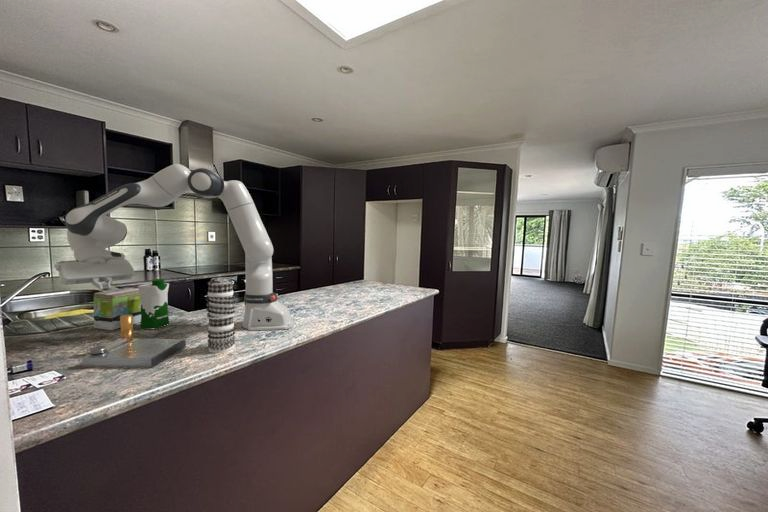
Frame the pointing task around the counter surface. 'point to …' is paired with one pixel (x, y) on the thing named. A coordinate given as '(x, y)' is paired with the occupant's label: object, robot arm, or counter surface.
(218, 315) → the decorative candle
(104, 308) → the tea box
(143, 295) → the milk carton
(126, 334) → the lever
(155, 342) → the grey lever board
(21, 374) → the counter surface
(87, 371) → the counter surface
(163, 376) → the counter surface
